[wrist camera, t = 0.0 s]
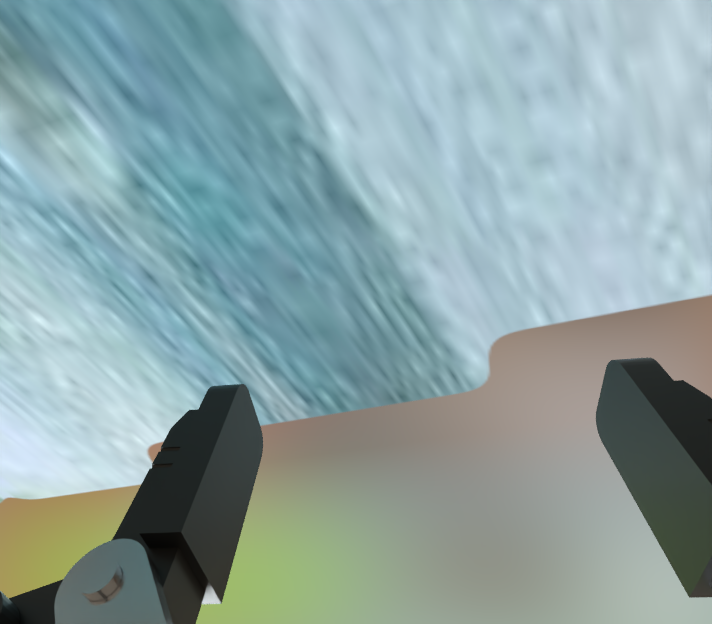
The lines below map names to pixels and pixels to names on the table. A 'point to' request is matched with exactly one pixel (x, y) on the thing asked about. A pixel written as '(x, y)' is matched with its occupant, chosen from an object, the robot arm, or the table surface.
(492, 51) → the table surface
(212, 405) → the robot arm
